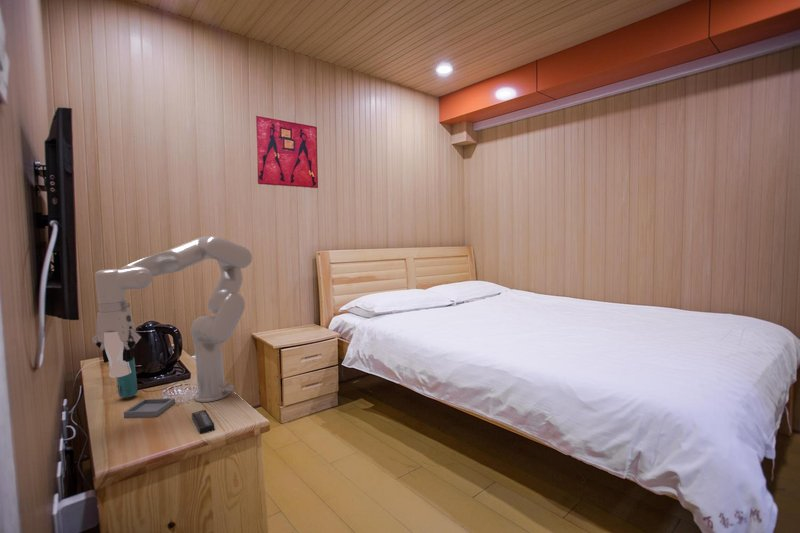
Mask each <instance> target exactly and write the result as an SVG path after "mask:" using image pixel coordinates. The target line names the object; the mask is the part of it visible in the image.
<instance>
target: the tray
mask: <svg viewBox="0 0 800 533" xmlns="http://www.w3.org/2000/svg"><path fill="white" fill-rule="evenodd" d="M175 400H176V399H175V398H174V397H172V398H171V397H166V398H163V397H162V398H143V399H142V400H141V401H139V402H137V403H136V404H134V405H132V406H131V407H129V408H127V409H126V410H125V411H123V418H124V419H130V418H132V419H133V418H134V419H135V418H157V417H159V416H160V415H162V414H163V413H164V412H165V411H167V410H168V409H170V408H171V407H172V406H174V405H175V404H176V401H175Z"/></svg>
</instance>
